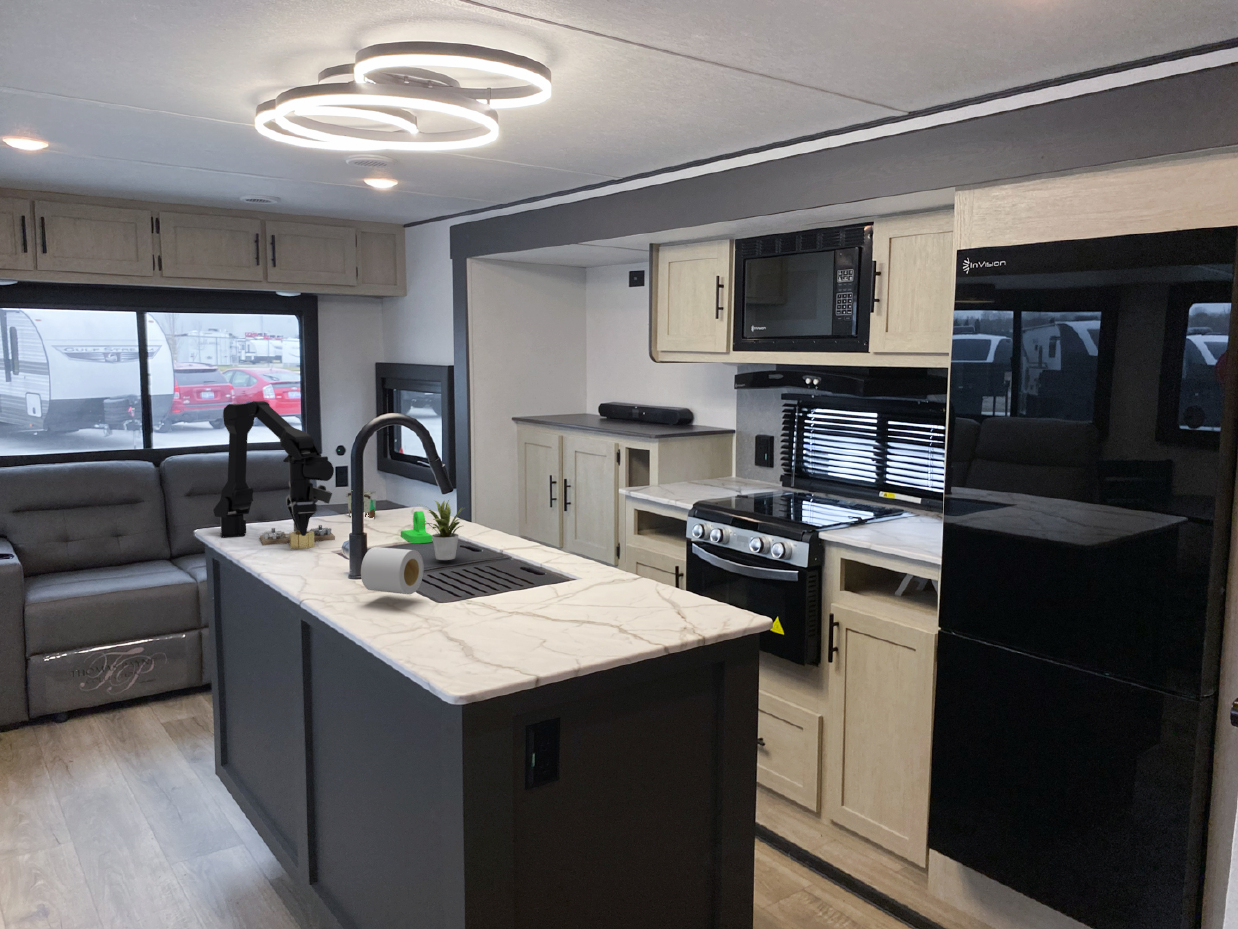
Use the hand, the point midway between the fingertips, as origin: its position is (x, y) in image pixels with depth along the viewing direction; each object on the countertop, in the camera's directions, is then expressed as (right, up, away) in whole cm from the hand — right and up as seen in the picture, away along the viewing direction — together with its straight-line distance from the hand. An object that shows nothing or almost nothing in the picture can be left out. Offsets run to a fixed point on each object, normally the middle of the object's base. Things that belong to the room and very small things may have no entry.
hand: (301, 533), depth 260 cm
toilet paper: (+39, -10, -51) cm, 65 cm away
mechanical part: (+30, -3, +13) cm, 33 cm away
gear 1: (-11, -2, +7) cm, 13 cm away
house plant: (+43, -6, -13) cm, 45 cm away
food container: (+6, 0, +44) cm, 45 cm away
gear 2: (+1, -1, +13) cm, 13 cm away
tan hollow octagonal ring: (0, -4, 0) cm, 4 cm away
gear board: (-5, -3, +10) cm, 12 cm away
